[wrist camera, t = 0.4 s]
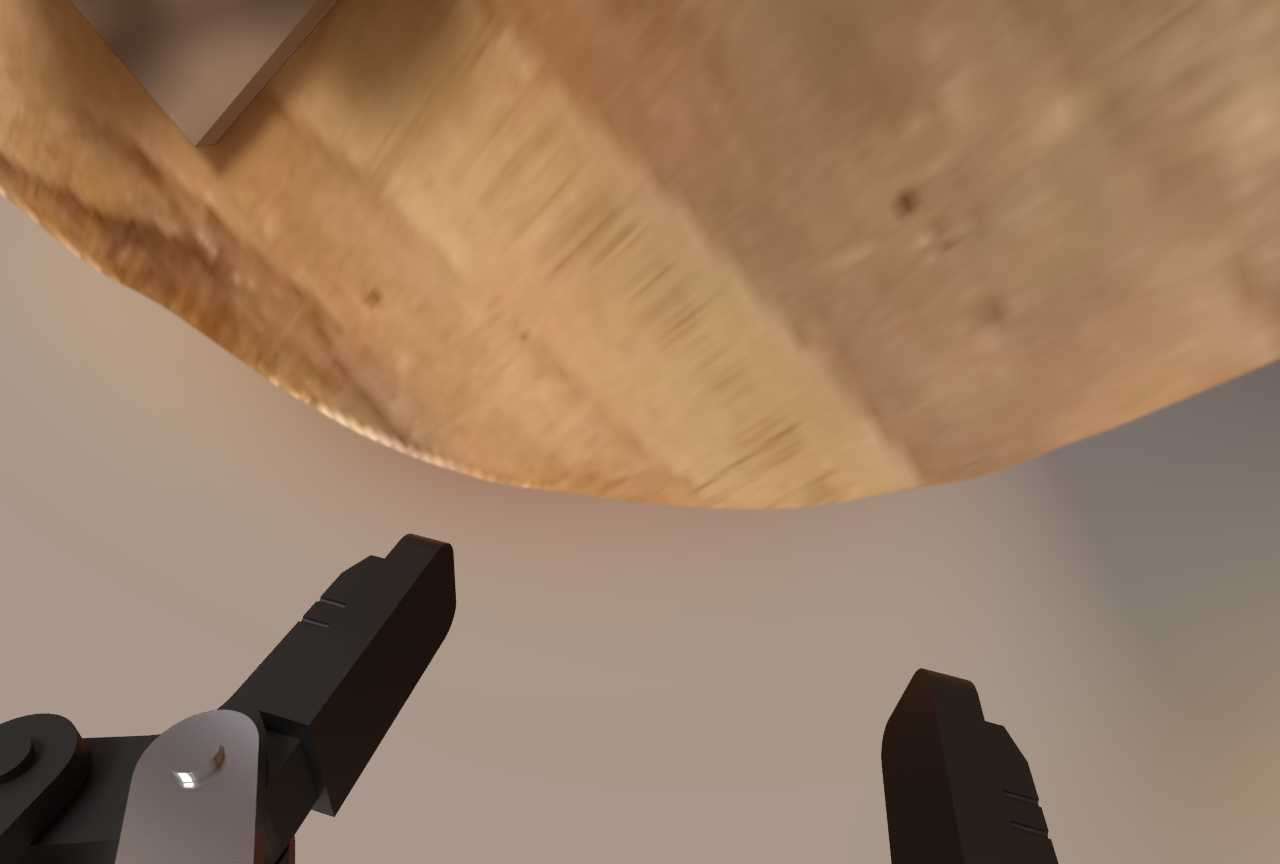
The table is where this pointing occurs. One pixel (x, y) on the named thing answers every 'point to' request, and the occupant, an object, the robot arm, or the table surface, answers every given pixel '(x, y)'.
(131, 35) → the brown piece
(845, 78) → the table surface
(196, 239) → the table surface
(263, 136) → the table surface
